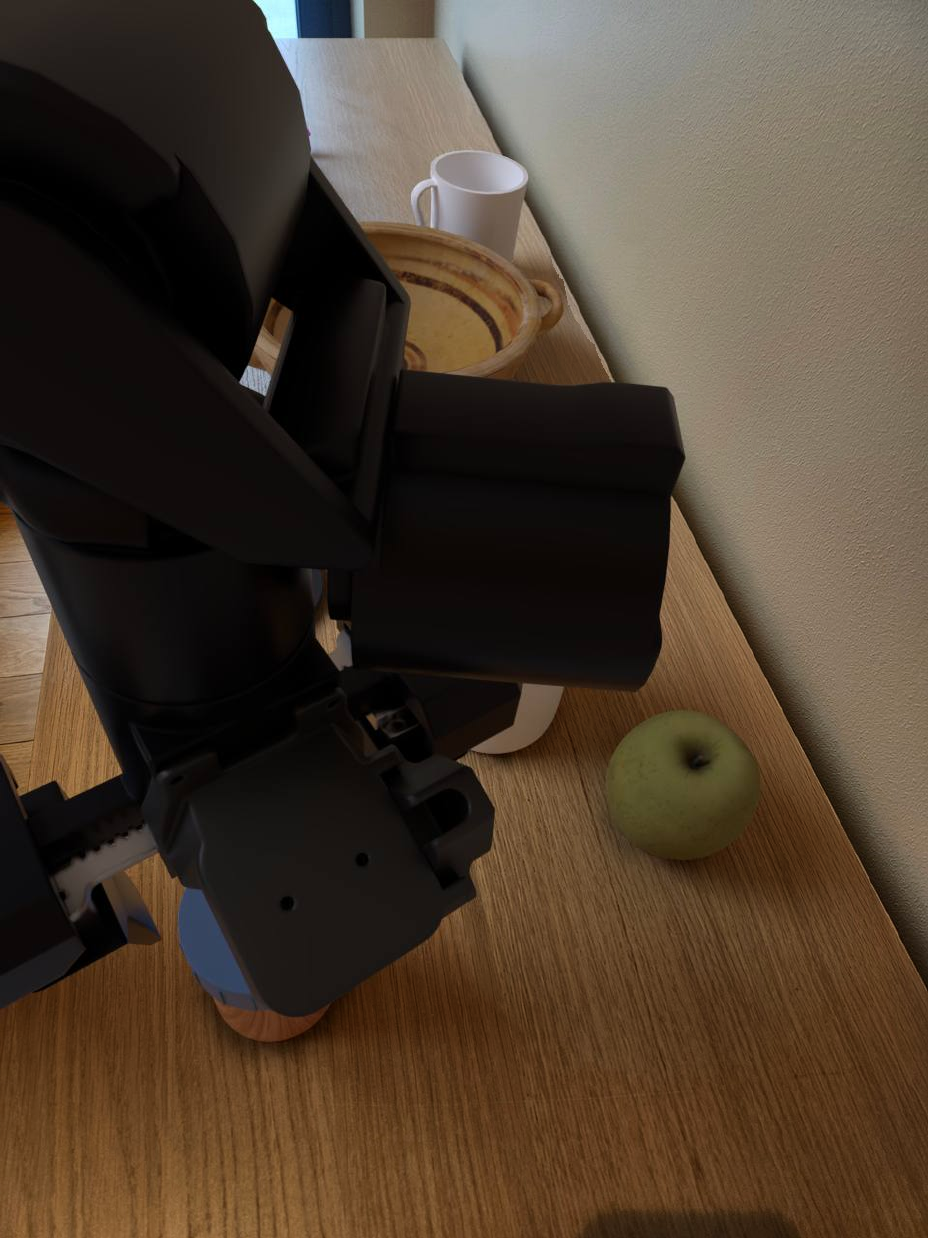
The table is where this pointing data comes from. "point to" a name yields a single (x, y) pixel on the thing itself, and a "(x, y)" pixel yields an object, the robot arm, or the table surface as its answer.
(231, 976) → the jar lid
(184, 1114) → the table surface
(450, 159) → the mug
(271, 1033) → the jar
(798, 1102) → the table surface
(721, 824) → the apple
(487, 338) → the ceramic bowl
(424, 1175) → the table surface
